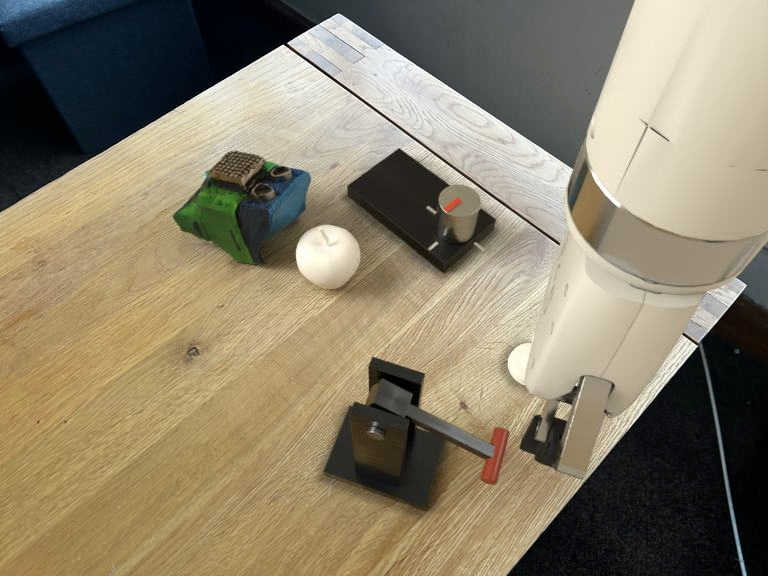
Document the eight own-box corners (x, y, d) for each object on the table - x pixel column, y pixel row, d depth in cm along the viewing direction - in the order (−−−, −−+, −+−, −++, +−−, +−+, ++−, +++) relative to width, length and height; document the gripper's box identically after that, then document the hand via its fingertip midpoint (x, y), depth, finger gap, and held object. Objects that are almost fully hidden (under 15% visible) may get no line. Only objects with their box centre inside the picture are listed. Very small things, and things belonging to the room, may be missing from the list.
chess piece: (549, 393, 68) (574, 349, 59) (502, 379, 68) (520, 333, 60) (558, 352, 70) (584, 304, 62) (513, 339, 71) (532, 289, 62)
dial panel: (506, 239, 78) (509, 227, 76) (455, 283, 75) (457, 273, 73) (398, 158, 85) (399, 146, 83) (347, 196, 81) (346, 184, 80)
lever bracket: (445, 441, 65) (463, 373, 51) (424, 511, 61) (437, 456, 48) (350, 409, 66) (343, 335, 53) (323, 475, 63) (310, 412, 50)
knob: (454, 206, 78) (458, 176, 74) (483, 228, 76) (489, 199, 72) (426, 227, 76) (430, 197, 72) (456, 251, 75) (461, 222, 70)
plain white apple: (327, 239, 78) (322, 194, 71) (373, 271, 75) (373, 228, 69) (285, 277, 75) (276, 234, 68) (332, 312, 72) (328, 271, 66)
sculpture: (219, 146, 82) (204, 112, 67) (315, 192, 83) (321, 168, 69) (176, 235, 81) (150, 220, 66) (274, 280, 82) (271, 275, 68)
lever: (501, 436, 56) (516, 430, 54) (487, 487, 54) (503, 483, 52) (376, 373, 54) (387, 364, 52) (357, 423, 52) (367, 416, 50)
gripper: (608, 35, 30) (533, 252, 45) (524, 353, 22) (464, 495, 36) (779, 72, 29) (645, 283, 44) (764, 427, 20) (602, 543, 35)
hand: (563, 379), depth 40 cm, fingers open, 9 cm apart
